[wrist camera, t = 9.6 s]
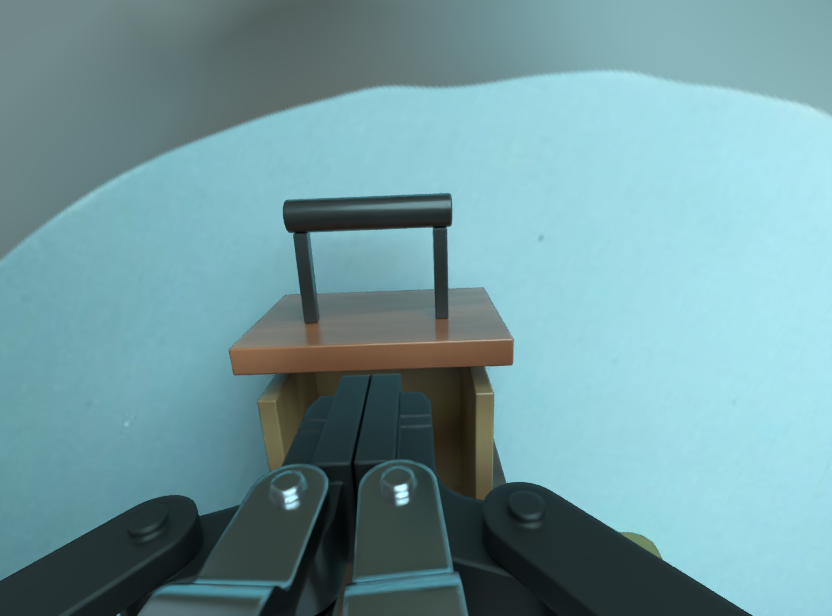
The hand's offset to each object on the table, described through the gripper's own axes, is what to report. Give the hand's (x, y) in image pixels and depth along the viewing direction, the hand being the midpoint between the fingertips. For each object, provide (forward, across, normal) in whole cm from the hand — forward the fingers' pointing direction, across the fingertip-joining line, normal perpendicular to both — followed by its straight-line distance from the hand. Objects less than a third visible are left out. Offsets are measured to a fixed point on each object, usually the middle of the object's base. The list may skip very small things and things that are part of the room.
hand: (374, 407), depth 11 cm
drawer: (+14, +1, +5) cm, 15 cm away
